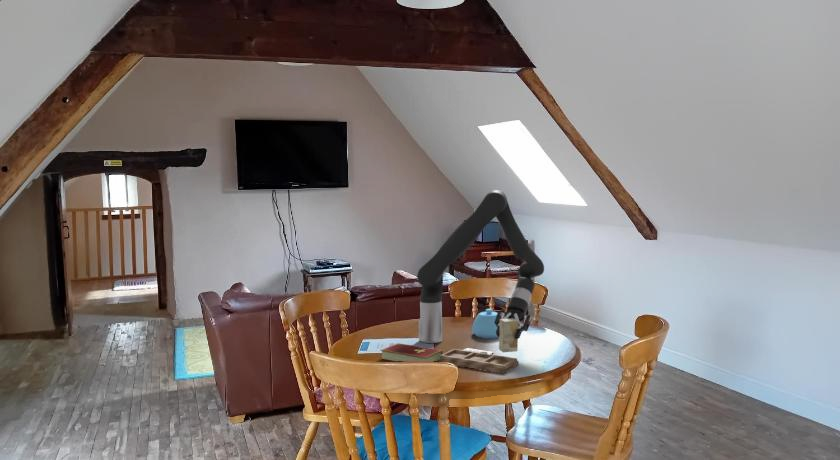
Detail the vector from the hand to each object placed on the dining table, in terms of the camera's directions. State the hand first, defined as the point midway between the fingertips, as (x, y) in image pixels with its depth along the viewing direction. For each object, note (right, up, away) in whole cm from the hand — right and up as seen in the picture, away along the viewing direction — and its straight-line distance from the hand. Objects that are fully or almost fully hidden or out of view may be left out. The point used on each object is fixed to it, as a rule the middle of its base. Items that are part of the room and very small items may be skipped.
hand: (506, 337), depth 245 cm
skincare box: (+1, -6, +2) cm, 6 cm away
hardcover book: (-37, -10, +3) cm, 38 cm away
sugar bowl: (-3, -6, +38) cm, 38 cm away
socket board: (-11, -9, -5) cm, 16 cm away
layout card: (-11, -8, +9) cm, 16 cm away
